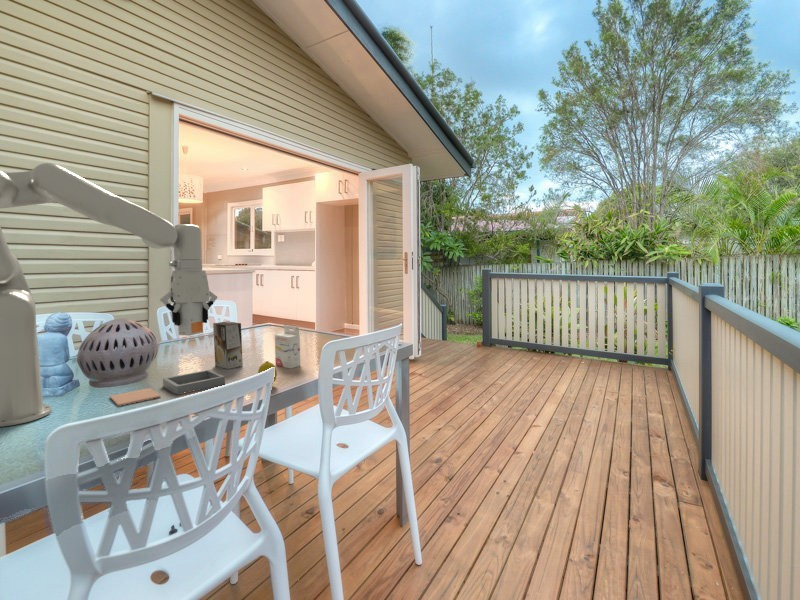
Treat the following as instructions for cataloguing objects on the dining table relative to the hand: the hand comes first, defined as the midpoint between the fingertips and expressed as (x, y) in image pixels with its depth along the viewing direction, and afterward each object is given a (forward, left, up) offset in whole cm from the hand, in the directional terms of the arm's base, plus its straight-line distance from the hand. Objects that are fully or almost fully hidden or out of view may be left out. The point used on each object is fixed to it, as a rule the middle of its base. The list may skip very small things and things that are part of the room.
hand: (190, 323), depth 125 cm
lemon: (+15, -18, -20) cm, 31 cm away
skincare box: (0, 0, -4) cm, 4 cm away
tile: (-16, 0, -20) cm, 25 cm away
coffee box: (+18, +16, -20) cm, 31 cm away
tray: (0, 0, -20) cm, 20 cm away
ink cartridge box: (+33, 0, -20) cm, 39 cm away
